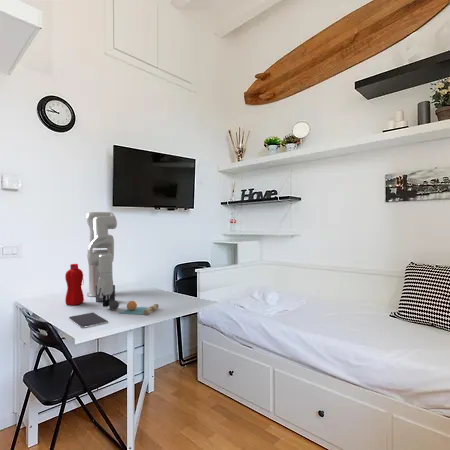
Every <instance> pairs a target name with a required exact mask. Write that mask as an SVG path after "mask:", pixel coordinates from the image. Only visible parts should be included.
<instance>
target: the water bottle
mask: <svg viewBox="0 0 450 450" xmlns="http://www.w3.org/2000/svg"><path fill="white" fill-rule="evenodd" d="M69 266H70V269H68V270H67V271H66V273H65V276H64V278H65V281H66V282H65V283H66V286H67V290H66V294H65V299H64V300H65V304H66V305H67V306H78V305H80V304H83V303H84V301H85V299H84V298H85V297H84V292H83V289H82V286H83V285H84V273H83V270H82V269H80V268H79V264H78V263H72V264H70V265H69ZM82 283H83V284H82Z"/></svg>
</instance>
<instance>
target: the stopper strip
mask: <svg viewBox="0 0 450 450" xmlns="http://www.w3.org/2000/svg"><path fill="white" fill-rule="evenodd" d="M158 309H159V304H158V303H155V304H153V305H151V306H149V307H148V308H147V309H146V310H144V314H143V316H149V315H150V314H152V313H153V312H155V311H157V310H158Z"/></svg>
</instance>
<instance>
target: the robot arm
mask: <svg viewBox="0 0 450 450" xmlns="http://www.w3.org/2000/svg"><path fill="white" fill-rule="evenodd" d="M85 216H86V217H85V219H86V222H87V225H88V228H89V244H88V247H87V254H86V257H87V262H88V263H87V264H88V292H87V293H86V296H87V297H96V286H97V295H100V297H99V298H102V300H103V303H102V307H103V308H105V307H106V308H108V307H109V299H110V295H111V294H112V292H113V285H114V280H113V279H114V278H113V262H114V260H115V259H114V257H115V256H114V255H115V254H114V253H115V239H114V236H113V235H111V234H109V230H115V229H116V228H117V225H118V221H117V218H116V216H115V214H114V212H110V211H108V212H107V211H91V212H87V213H86V215H85Z"/></svg>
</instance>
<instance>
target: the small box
mask: <svg viewBox="0 0 450 450" xmlns="http://www.w3.org/2000/svg"><path fill="white" fill-rule="evenodd" d="M99 297H100V295H97V286H96V296H95V303H102V304H103V300H102V298H99ZM112 300H116V285H115V284H113V292H112V294H111V295H110V299H109V303H110V302H111V301H112Z"/></svg>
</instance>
